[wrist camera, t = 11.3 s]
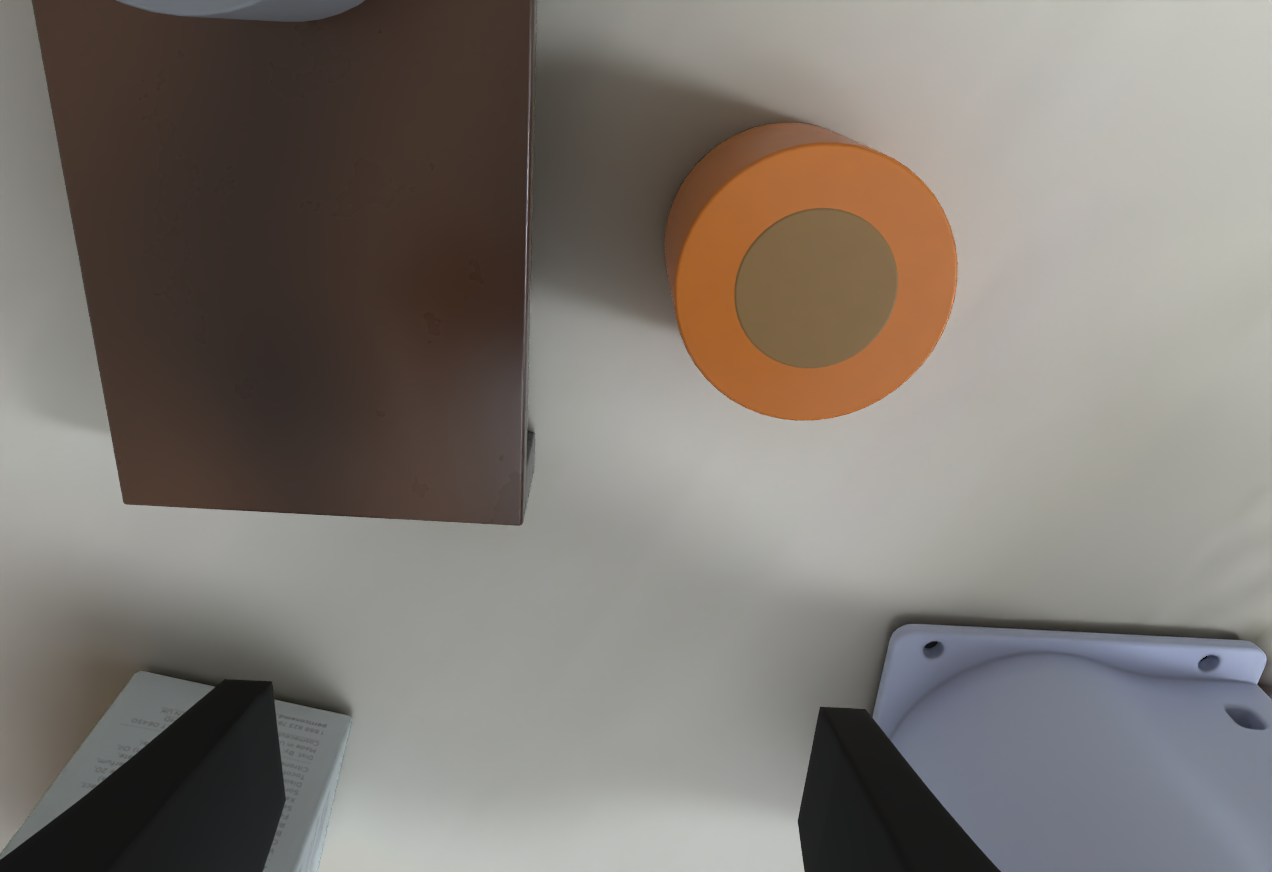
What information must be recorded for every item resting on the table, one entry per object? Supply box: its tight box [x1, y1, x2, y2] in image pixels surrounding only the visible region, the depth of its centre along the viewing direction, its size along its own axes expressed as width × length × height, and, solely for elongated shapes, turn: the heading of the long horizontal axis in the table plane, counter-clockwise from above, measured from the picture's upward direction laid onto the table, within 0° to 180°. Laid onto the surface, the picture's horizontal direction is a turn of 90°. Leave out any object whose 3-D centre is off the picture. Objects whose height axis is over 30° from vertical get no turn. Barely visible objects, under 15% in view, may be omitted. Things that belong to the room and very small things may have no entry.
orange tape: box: [665, 123, 957, 420], centre depth 17 cm, size 5×5×4 cm
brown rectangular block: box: [32, 0, 537, 526], centre depth 16 cm, size 8×15×3 cm, turn 176°
